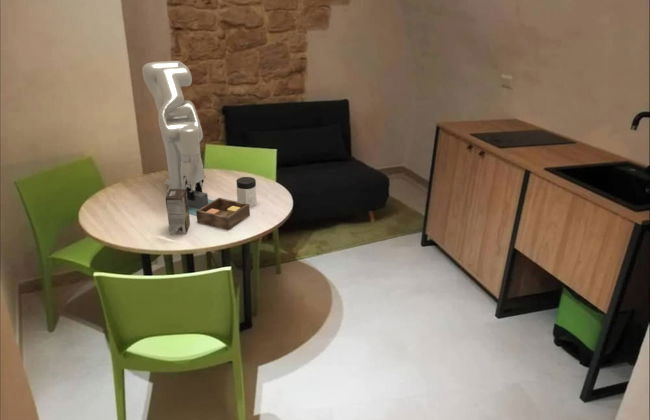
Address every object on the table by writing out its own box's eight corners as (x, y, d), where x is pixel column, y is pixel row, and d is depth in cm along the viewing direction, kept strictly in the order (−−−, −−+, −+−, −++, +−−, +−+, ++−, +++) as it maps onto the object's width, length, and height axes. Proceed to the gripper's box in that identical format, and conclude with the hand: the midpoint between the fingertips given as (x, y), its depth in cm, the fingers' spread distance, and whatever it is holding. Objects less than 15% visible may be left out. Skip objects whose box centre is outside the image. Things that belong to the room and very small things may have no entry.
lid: (168, 211, 206) (166, 196, 203) (193, 198, 220) (191, 183, 217) (199, 219, 200) (197, 203, 197) (222, 205, 214) (221, 189, 211)
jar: (241, 211, 208) (240, 185, 203) (233, 204, 214) (232, 179, 209) (260, 206, 212) (259, 181, 207) (252, 200, 218) (251, 175, 213)
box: (197, 224, 195) (196, 210, 193) (220, 210, 208) (219, 197, 205) (228, 232, 190) (227, 218, 187) (249, 217, 202) (249, 204, 200)
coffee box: (174, 226, 194) (169, 188, 187) (190, 225, 194) (186, 188, 188) (169, 237, 185) (164, 198, 179) (186, 236, 186) (182, 197, 179)
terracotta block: (206, 221, 196) (205, 212, 195) (212, 217, 200) (211, 208, 198) (214, 223, 195) (213, 214, 193) (220, 219, 198) (219, 210, 196)
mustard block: (227, 218, 199) (226, 209, 197) (233, 214, 202) (232, 205, 201) (235, 220, 197) (235, 211, 196) (241, 216, 201) (240, 207, 199)
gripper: (197, 150, 209) (200, 189, 216) (169, 161, 195) (174, 203, 202) (211, 152, 206) (214, 192, 213) (185, 164, 192) (189, 206, 199)
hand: (195, 197), depth 208 cm, fingers open, 4 cm apart
